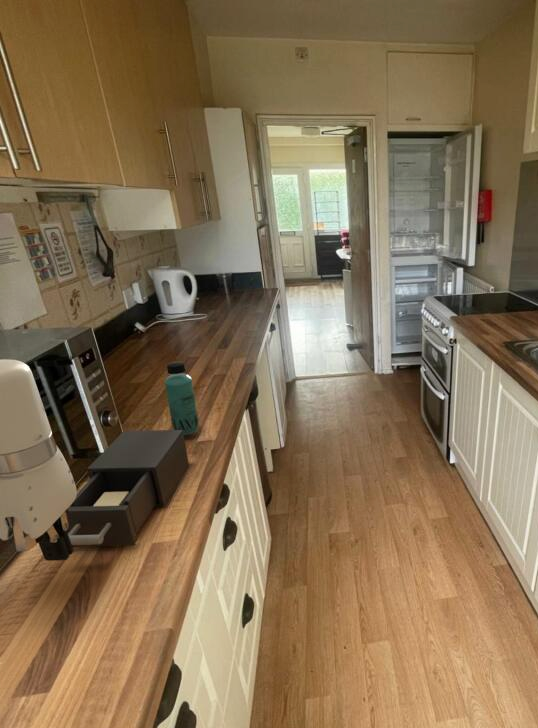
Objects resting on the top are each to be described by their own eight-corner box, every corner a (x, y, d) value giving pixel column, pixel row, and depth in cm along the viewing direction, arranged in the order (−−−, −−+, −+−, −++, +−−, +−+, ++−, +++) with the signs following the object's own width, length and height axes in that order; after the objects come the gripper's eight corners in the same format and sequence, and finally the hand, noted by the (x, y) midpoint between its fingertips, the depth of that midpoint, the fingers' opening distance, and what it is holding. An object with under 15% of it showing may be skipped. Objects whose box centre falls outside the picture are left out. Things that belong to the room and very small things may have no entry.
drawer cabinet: (164, 507, 86) (155, 467, 82) (98, 509, 85) (86, 468, 81) (189, 465, 99) (182, 429, 96) (133, 467, 98) (124, 430, 95)
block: (97, 526, 78) (91, 507, 76) (109, 510, 82) (104, 492, 80) (122, 526, 78) (117, 506, 76) (133, 510, 82) (129, 491, 80)
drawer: (122, 564, 71) (112, 527, 68) (50, 567, 71) (36, 530, 67) (164, 496, 88) (158, 464, 85) (107, 497, 87) (97, 465, 84)
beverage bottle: (168, 438, 110) (153, 366, 102) (185, 426, 116) (172, 357, 108) (190, 442, 109) (177, 369, 101) (206, 430, 115) (195, 360, 107)
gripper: (30, 425, 63) (64, 522, 71) (-59, 487, 50) (-5, 600, 57) (82, 424, 64) (111, 521, 71) (9, 485, 50) (54, 597, 58)
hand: (59, 556), depth 64 cm, fingers closed
